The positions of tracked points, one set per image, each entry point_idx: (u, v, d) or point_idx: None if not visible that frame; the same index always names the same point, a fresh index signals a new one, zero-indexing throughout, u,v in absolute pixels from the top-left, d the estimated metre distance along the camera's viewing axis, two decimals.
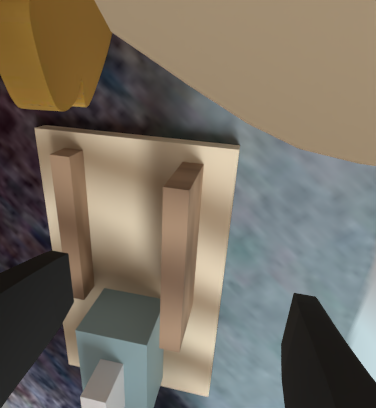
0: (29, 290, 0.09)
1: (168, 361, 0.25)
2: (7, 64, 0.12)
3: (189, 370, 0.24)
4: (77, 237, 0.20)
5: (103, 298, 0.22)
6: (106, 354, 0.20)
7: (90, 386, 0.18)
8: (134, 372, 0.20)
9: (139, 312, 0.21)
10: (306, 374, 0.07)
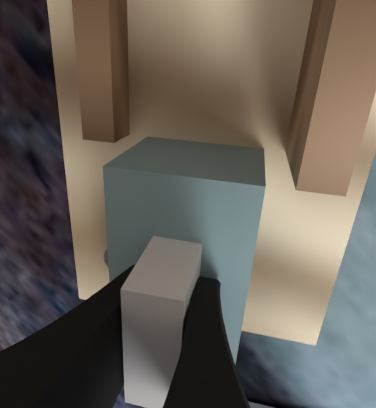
0: None
1: (253, 280, 0.14)
2: None
3: (289, 296, 0.14)
4: None
5: (150, 143, 0.12)
6: (167, 223, 0.09)
7: (141, 273, 0.08)
8: (224, 262, 0.09)
9: (225, 156, 0.11)
10: None
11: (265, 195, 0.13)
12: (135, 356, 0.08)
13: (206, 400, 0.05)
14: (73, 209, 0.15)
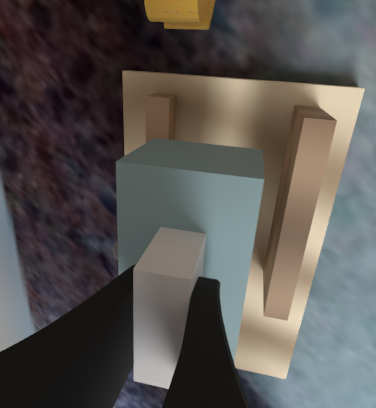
0: (127, 310, 0.08)
1: (245, 339, 0.23)
2: None
3: (268, 349, 0.22)
4: None
5: (157, 144, 0.12)
6: (174, 214, 0.10)
7: (151, 257, 0.09)
8: (226, 251, 0.10)
9: (227, 155, 0.11)
10: None
11: (252, 292, 0.21)
12: (145, 334, 0.09)
13: (206, 400, 0.05)
14: None
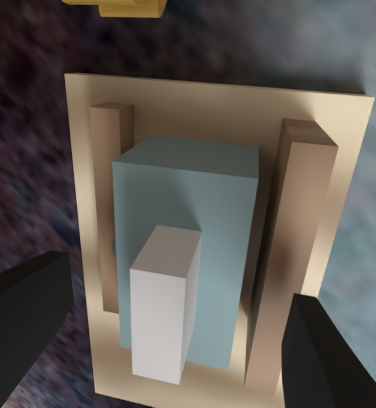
0: (29, 290, 0.09)
1: (228, 392, 0.19)
2: None
3: (255, 404, 0.19)
4: None
5: (154, 141, 0.13)
6: (170, 213, 0.10)
7: (147, 256, 0.09)
8: (222, 248, 0.10)
9: (223, 153, 0.12)
10: (306, 374, 0.07)
11: (235, 341, 0.17)
12: (142, 330, 0.09)
13: None
14: (92, 335, 0.19)
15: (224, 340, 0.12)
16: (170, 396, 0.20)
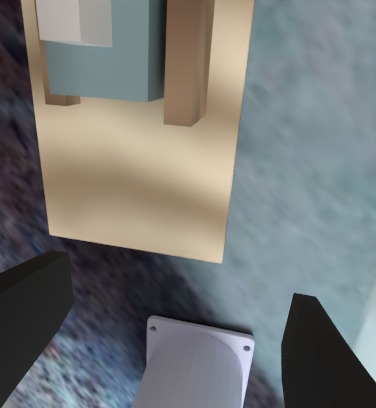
0: (29, 290, 0.09)
1: (173, 212, 0.20)
2: None
3: (199, 224, 0.20)
4: None
5: None
6: None
7: None
8: None
9: None
10: (306, 374, 0.07)
11: (174, 146, 0.18)
12: None
13: None
14: (43, 161, 0.20)
15: (140, 62, 0.13)
16: (119, 227, 0.21)
